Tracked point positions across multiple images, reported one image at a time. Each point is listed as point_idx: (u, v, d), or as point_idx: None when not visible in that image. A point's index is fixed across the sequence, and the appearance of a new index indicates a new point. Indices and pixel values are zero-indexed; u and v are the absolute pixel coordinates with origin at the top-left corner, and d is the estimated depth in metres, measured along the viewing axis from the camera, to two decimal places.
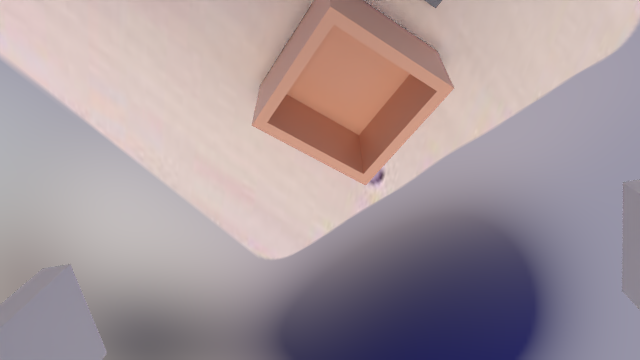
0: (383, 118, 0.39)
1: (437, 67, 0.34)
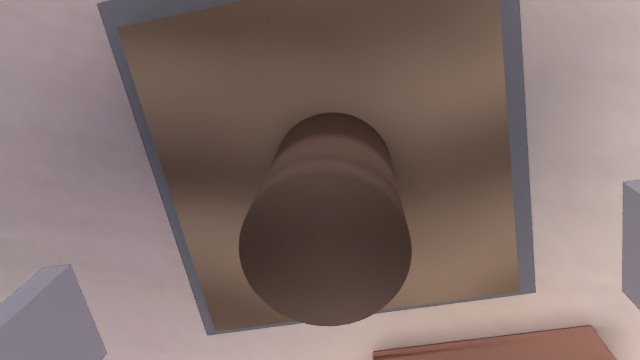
0: None
1: None
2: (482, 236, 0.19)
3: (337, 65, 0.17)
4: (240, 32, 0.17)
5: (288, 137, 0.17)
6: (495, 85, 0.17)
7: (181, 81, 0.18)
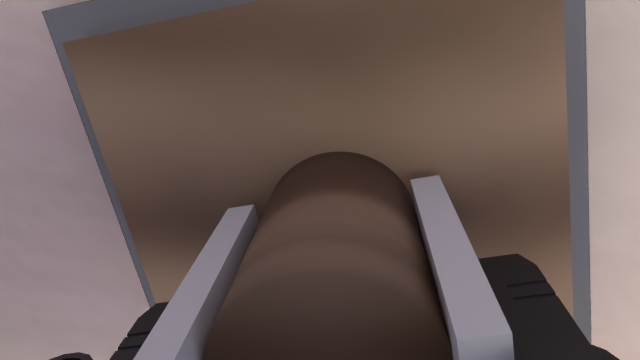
0: None
1: None
2: None
3: (347, 92, 0.13)
4: (221, 49, 0.13)
5: (282, 186, 0.13)
6: (554, 118, 0.13)
7: (146, 111, 0.14)
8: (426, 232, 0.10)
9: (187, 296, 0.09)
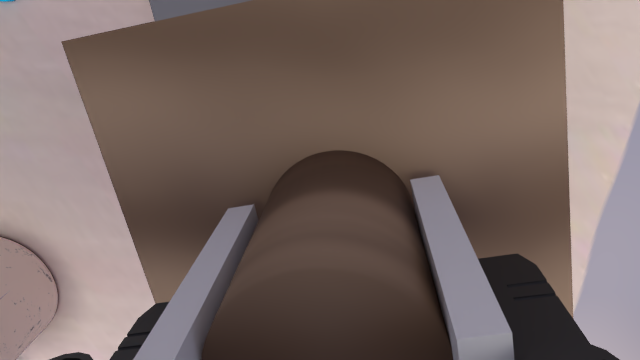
0: None
1: None
2: None
3: (346, 90, 0.13)
4: (220, 47, 0.13)
5: (281, 185, 0.13)
6: (553, 117, 0.13)
7: (146, 109, 0.14)
8: (426, 232, 0.10)
9: (187, 296, 0.09)
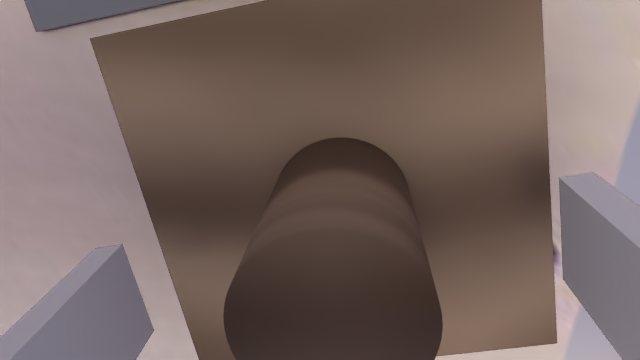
0: None
1: None
2: (515, 279, 0.16)
3: (347, 83, 0.15)
4: (234, 44, 0.14)
5: (289, 168, 0.14)
6: (534, 107, 0.14)
7: (165, 100, 0.15)
8: (632, 240, 0.08)
9: None
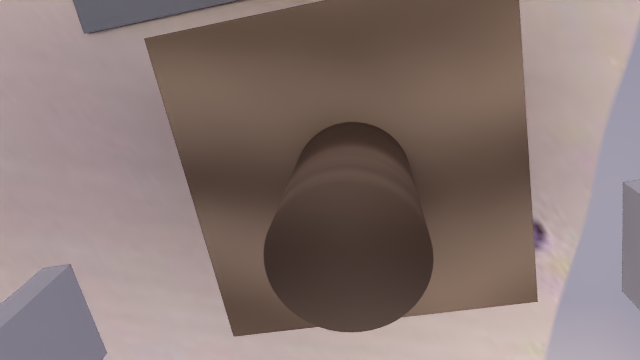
0: None
1: None
2: (500, 245, 0.19)
3: (358, 75, 0.17)
4: (264, 43, 0.17)
5: (310, 146, 0.17)
6: (515, 96, 0.17)
7: (205, 90, 0.18)
8: None
9: None
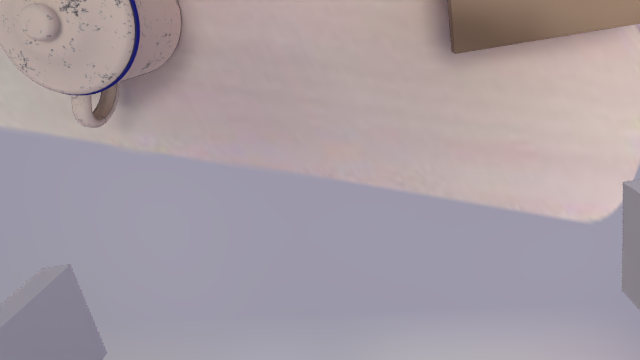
0: None
1: None
2: None
3: None
4: None
5: None
6: None
7: None
8: None
9: None
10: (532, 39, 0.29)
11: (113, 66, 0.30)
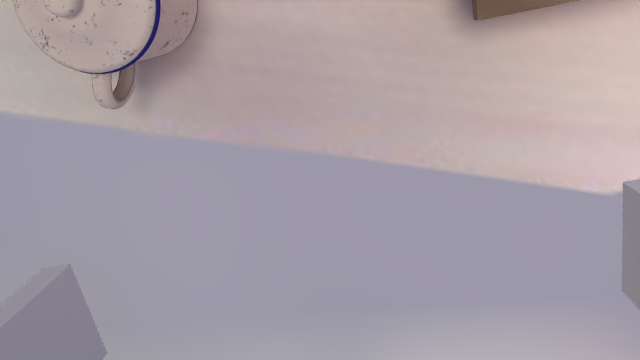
0: None
1: None
2: None
3: None
4: None
5: None
6: None
7: None
8: None
9: None
10: (556, 3, 0.29)
11: (134, 42, 0.29)
